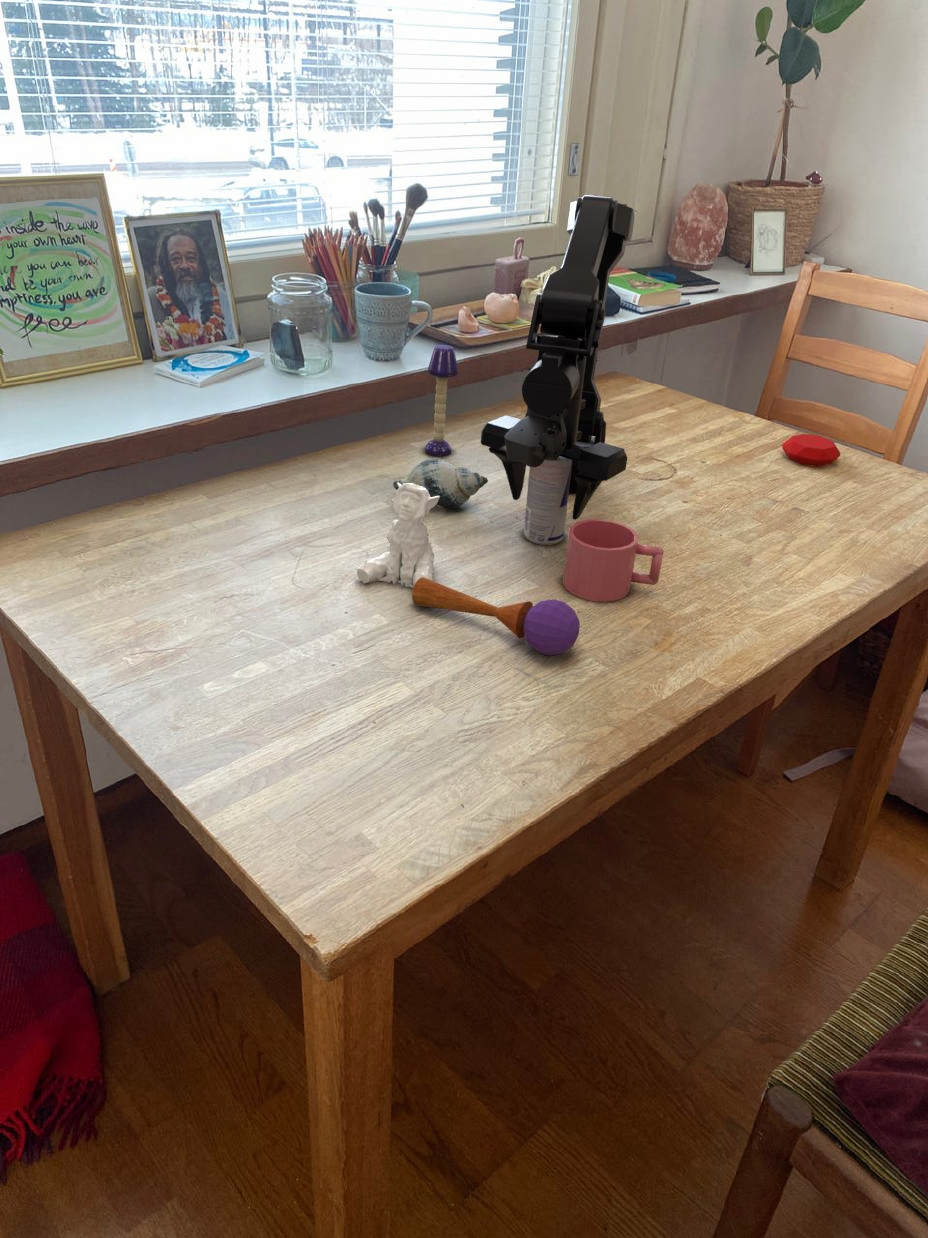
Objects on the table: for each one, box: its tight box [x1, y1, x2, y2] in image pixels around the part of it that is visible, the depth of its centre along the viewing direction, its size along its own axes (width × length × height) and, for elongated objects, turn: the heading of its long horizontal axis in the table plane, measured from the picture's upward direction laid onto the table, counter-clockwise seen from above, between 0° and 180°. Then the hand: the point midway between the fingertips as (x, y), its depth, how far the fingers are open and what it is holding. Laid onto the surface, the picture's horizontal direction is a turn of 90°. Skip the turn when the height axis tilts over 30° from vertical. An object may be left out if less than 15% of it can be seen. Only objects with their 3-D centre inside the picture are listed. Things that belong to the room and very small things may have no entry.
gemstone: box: [781, 433, 841, 468], centre depth 156 cm, size 9×9×3 cm
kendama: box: [411, 577, 581, 656], centre depth 104 cm, size 6×6×20 cm
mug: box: [562, 518, 665, 603], centre depth 114 cm, size 11×8×7 cm
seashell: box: [392, 457, 489, 509], centre depth 132 cm, size 6×8×12 cm
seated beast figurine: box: [356, 482, 440, 589], centre depth 112 cm, size 10×9×12 cm
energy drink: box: [523, 456, 572, 546], centre depth 123 cm, size 5×5×12 cm
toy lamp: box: [424, 344, 459, 457], centre depth 146 cm, size 5×5×17 cm
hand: (545, 508), depth 124 cm, fingers open, 9 cm apart
